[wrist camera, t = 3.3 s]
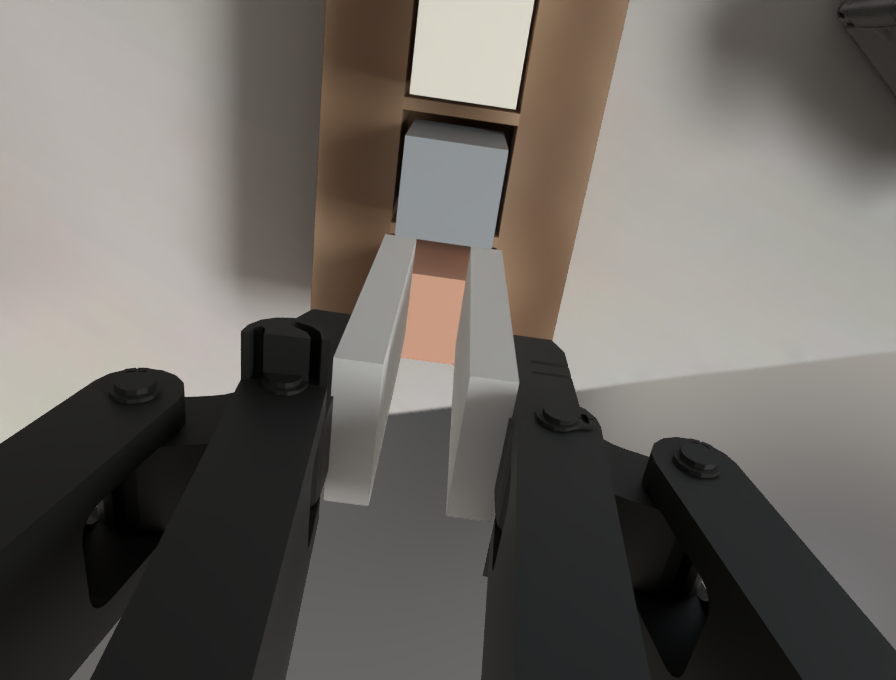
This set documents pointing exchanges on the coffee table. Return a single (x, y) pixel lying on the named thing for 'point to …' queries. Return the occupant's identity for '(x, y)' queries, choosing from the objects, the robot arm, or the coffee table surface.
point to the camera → (874, 33)
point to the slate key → (451, 183)
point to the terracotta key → (435, 301)
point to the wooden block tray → (525, 129)
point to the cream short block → (471, 50)
